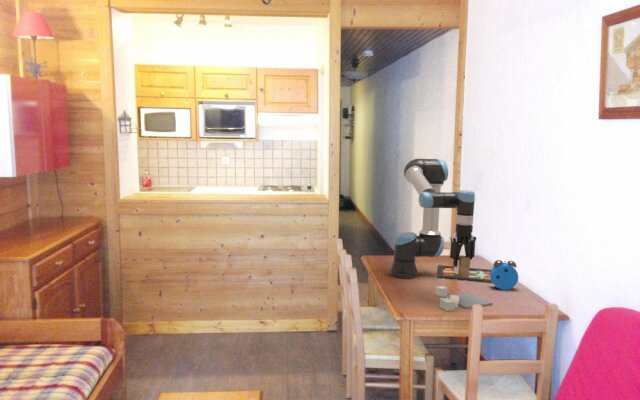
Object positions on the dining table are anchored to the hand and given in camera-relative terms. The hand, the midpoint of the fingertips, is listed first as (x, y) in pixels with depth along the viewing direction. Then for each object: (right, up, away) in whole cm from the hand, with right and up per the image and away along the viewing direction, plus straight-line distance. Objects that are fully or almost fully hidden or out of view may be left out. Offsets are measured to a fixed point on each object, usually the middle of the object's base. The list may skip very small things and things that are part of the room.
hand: (461, 272), depth 251 cm
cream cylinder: (-5, -15, -5) cm, 16 cm away
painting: (+18, -9, +52) cm, 56 cm away
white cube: (-7, -13, +12) cm, 18 cm away
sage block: (-9, -15, -8) cm, 19 cm away
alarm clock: (+29, -12, +26) cm, 41 cm away
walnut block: (0, -1, 0) cm, 1 cm away
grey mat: (+4, -14, +2) cm, 15 cm away
